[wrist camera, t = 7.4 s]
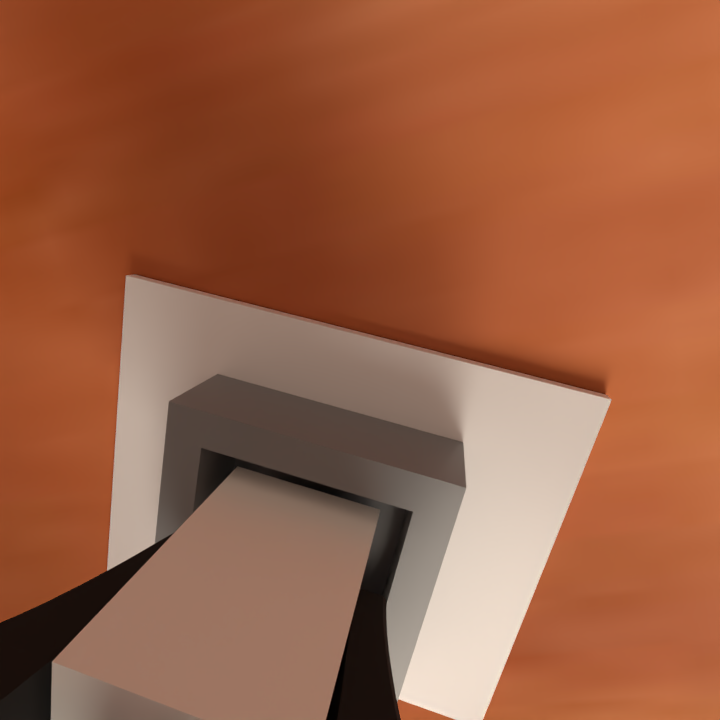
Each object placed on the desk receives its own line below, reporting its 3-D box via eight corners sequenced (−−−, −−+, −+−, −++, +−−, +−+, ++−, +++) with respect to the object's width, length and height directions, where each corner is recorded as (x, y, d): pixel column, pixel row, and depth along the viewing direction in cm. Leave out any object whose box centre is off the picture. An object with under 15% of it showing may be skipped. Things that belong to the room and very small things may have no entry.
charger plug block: (349, 628, 13) (241, 1041, 6) (219, 583, 13) (-9, 923, 7) (380, 509, 12) (289, 860, 5) (237, 466, 12) (-16, 733, 6)
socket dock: (478, 716, 15) (485, 819, 13) (113, 586, 17) (49, 652, 14) (606, 394, 12) (652, 439, 9) (135, 274, 14) (56, 282, 11)
